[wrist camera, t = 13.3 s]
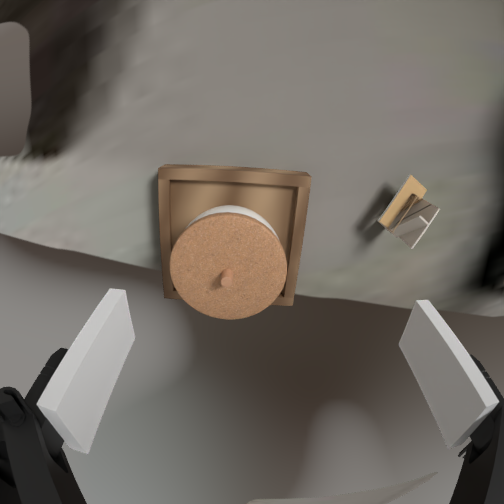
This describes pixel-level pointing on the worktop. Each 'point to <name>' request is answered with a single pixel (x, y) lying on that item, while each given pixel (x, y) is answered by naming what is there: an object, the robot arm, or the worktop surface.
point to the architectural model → (408, 212)
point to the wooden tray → (237, 194)
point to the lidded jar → (228, 263)
